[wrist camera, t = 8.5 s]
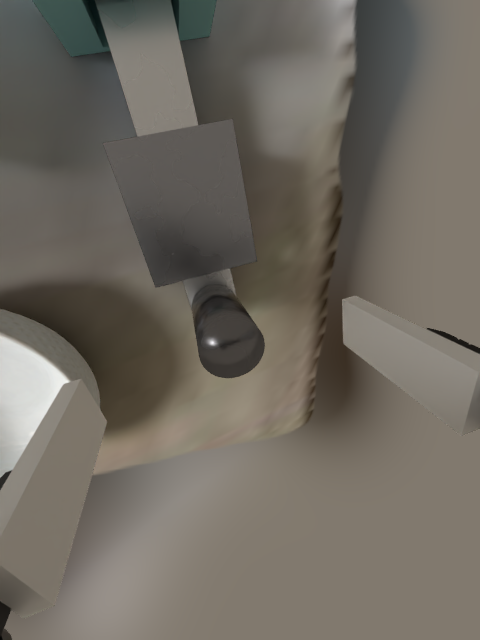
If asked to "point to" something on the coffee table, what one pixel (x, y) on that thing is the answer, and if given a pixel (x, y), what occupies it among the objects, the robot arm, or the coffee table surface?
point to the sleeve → (185, 200)
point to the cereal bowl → (32, 380)
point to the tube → (164, 115)
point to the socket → (88, 33)
